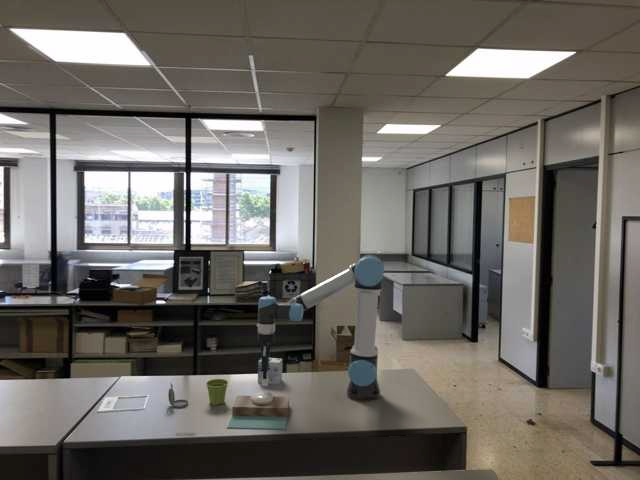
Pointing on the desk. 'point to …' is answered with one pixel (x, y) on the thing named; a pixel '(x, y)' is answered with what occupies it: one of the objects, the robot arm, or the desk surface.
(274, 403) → the board
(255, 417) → the mat
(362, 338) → the robot arm
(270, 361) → the light bulb box
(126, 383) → the desk surface
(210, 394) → the plant pot
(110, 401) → the photo frame
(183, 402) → the pocket watch
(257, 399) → the white domed disc
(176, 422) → the desk surface
